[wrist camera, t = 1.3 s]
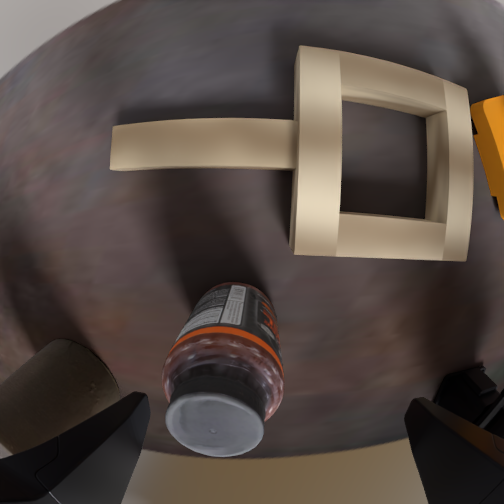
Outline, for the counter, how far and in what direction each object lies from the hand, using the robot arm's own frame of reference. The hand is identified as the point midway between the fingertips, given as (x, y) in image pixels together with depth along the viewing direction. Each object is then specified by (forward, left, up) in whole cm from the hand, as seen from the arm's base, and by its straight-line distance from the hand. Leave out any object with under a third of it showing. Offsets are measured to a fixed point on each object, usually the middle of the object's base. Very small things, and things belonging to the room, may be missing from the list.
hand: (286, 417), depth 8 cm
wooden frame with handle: (+10, -2, -12) cm, 16 cm away
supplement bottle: (-2, +2, -13) cm, 13 cm away
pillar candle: (-11, +19, -13) cm, 25 cm away
